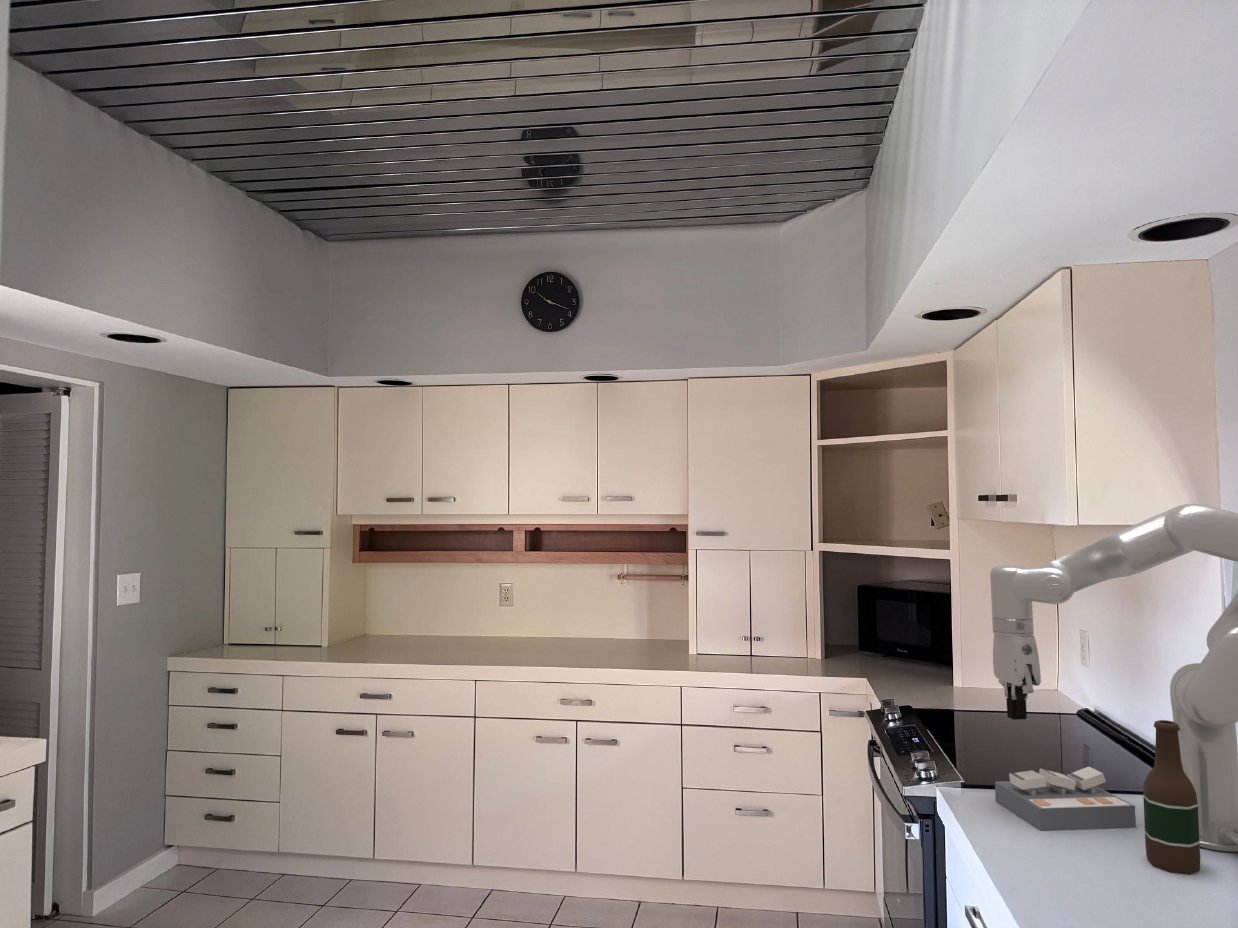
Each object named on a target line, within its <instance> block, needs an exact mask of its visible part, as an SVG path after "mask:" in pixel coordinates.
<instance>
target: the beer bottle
mask: <svg viewBox="0 0 1238 928" xmlns="http://www.w3.org/2000/svg"><path fill="white" fill-rule="evenodd" d="M1153 727H1154V728H1155V746H1154V748H1155V749H1154V750H1155V751H1154V752H1155V753H1154V763H1153V764H1154V765H1153V767H1152V768H1151V770H1150V771H1149V772H1148V774H1147V775H1146V777H1145V779H1144V781H1143V794H1142V797H1143V798H1142V799H1143V800H1142V801H1143V817H1144V819H1143V821H1144V843H1145V845H1144V846H1145V853H1146V858H1147V860H1148V862H1149V863H1150V864H1151V865H1152V866H1153V867H1155V868H1158V869H1161V870H1163V871H1166V872H1168V873H1174V874H1183V875H1184V874H1185V875H1191V874H1194V873H1197V872H1200V870H1201V847H1200V841H1199V820H1198V802H1197V795H1196V791H1195V789H1194V787H1193V784H1192V782H1191V781H1190V780H1189V778H1188V777H1187V776H1186V774H1185V773H1184V770H1183V766H1182V762H1181V754H1180V745H1179V737H1178V731H1179V730H1180V728H1179V725H1178V724H1177V723H1175V722H1173V720H1166V719H1159V720H1156V721H1155V720H1154V723H1153Z"/></svg>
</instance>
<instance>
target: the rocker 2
mask: <svg viewBox="0 0 1238 928" xmlns="http://www.w3.org/2000/svg"><path fill="white" fill-rule="evenodd" d="M1066 776H1067V777H1069V778H1071V779H1073V780H1075V781H1076V785H1075V786H1076V787H1078V788H1080V789H1082V790H1086V789H1088V788H1091V787H1094V786H1096V787H1097V786H1098V785H1099V786H1100V785H1101V784H1104V783H1106V778H1105V775H1104V773H1103V771H1099V770H1098V769H1095V768H1093V767H1091V766H1087V767H1084V768H1081V769H1079V770H1076V771H1073V772H1071V773H1068V774H1066Z"/></svg>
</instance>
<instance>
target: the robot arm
mask: <svg viewBox="0 0 1238 928" xmlns="http://www.w3.org/2000/svg"><path fill="white" fill-rule="evenodd" d="M1195 551H1196V552H1199V553H1203V554H1207V555H1209V556H1214V557H1217V558H1220V559H1223V560H1228V561H1232V562H1235V563H1238V512H1235V511H1230V510H1226V509H1221V508H1218V507H1214V506H1210V505H1207V504H1202V503H1187V504H1181V505H1178V506H1175V507H1172V508H1171V509H1168V510H1165V511H1164V512H1161V513H1159V514H1157V515H1153V516H1152V517H1149V518H1147V519H1144V520H1142V521H1140V522H1137V523H1135V524H1134V525H1131V526H1129V527H1127V528H1123V529H1122V530H1119V531H1116V532H1113V533H1111V534H1109V535H1107V536H1105V537H1103V538H1101V539H1099V540H1097V541H1096V542H1094V543H1091V544H1088V545H1086V546H1085V547H1082V548H1080V549H1077V550H1075V551H1073V552H1071V553H1067V554H1066V555H1063V556H1060V557H1058V558H1056V559H1053V560H1052V561H1051V560H1050V561H1049V562H1047V563H1044V564H1042V565H1041V566H1038V567H1031V568H1030V567H1025V566H1022V565H996V566H993V567H992V568H991V570H990V575H989V578H990V579H989V580H990V595H991V597H990V600H991V621H992V634H993V641H992V642H993V643H992V644H993V645H992V666H993V667H992V669H993V674H994V677H995V678H996V679H997V680H998V683H999V685H1001V686H1002V687H1003V691H1004V696H1005V698H1006V716H1007V718H1009V719H1011V720H1013V721H1014V720H1017V721H1018V720H1026V719H1027V718H1028V714H1027V700H1028V695H1029V694H1033V693H1035V692H1034V687H1033V686H1036V687H1037V686H1040V685H1041V683H1042V682H1041V681H1042V680H1041V679H1042V678H1041V667H1040V659H1039V650H1038V646H1037V641H1036V638H1035V635H1034V631H1035V630H1034V615H1033V614H1034V612H1033V602H1035V603H1040V604H1041V603H1042V604H1048V605H1059V604H1060V605H1061V604H1064V603H1065V602H1068V601H1069V600H1070V599H1071V598H1072V597H1073V595H1074V593H1076V592H1079V591H1082V590H1083V589H1087V588H1088V587H1092V586H1094V585H1096V584H1097V585H1098V584H1099V583H1102V582H1105V581H1108V580H1112V579H1117V578H1118V579H1119V578H1124V577H1125V578H1126V577H1131V576H1134V575H1137V574H1140V573H1143V572H1145V571H1148V570H1150V569H1152V568H1155V567H1158V566H1160V565H1162V564H1164V563H1168V562H1169V561H1171V560H1174V559H1176V558H1179V557H1181V556H1185V555H1187V554H1190V553H1192V552H1195ZM1206 646H1207V648H1208V652H1207V653H1206V655H1205V656H1204V658H1203V659H1202V660H1201V662H1200V663H1198V662H1197V663H1195V662H1194V663H1189V664H1186V665H1183V666H1182V667H1179V669H1177V670H1176V672H1175V673H1174V674H1173V675H1172V678H1171V681H1170V683H1169V684H1170V685H1169V697H1170V704H1171V712H1172V721H1173V722H1175V723H1177V724H1178V725H1179V728H1180V730H1179V731H1178V737H1179V745H1180V754H1181V762H1182V766H1183V770H1184V773H1185V774H1186V776H1187V777H1188V778H1189V780H1190V781H1191V782H1192V784H1193V787H1194V789H1195V791H1196V795H1197V802H1198V820H1199V841H1200V848H1202V849H1208V850H1212V851H1218V852H1219V851H1221V852H1234V853H1237V852H1238V738H1237V737H1238V736H1237V728H1236V723H1238V590H1237V592H1236V593H1235V595H1234V597H1233V598H1232V600H1231V601H1230V602H1229V604H1228V605H1227V606H1226V608H1225V609H1224V611H1223V612H1222V614H1221V615H1220V616H1219V618H1218V619H1217V620H1216V621H1215V622H1214V624H1213V625H1212V626H1211V627H1210V628H1209V631H1208V633H1207V636H1206Z"/></svg>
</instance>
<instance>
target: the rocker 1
mask: <svg viewBox="0 0 1238 928" xmlns="http://www.w3.org/2000/svg"><path fill="white" fill-rule="evenodd" d="M1008 774H1009V775H1008V776H1009V777H1008V778H1009V781H1010V783H1012V784H1014V785H1015V786H1017V787H1019V788H1020V789H1022V790H1024V789H1031V788H1038V787H1046V780H1045V777H1044V776H1042V775H1040V774H1039V772H1036V771H1034V770H1027V771H1026V770H1025V771H1019V772H1012V773H1011V772H1009V773H1008Z"/></svg>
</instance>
